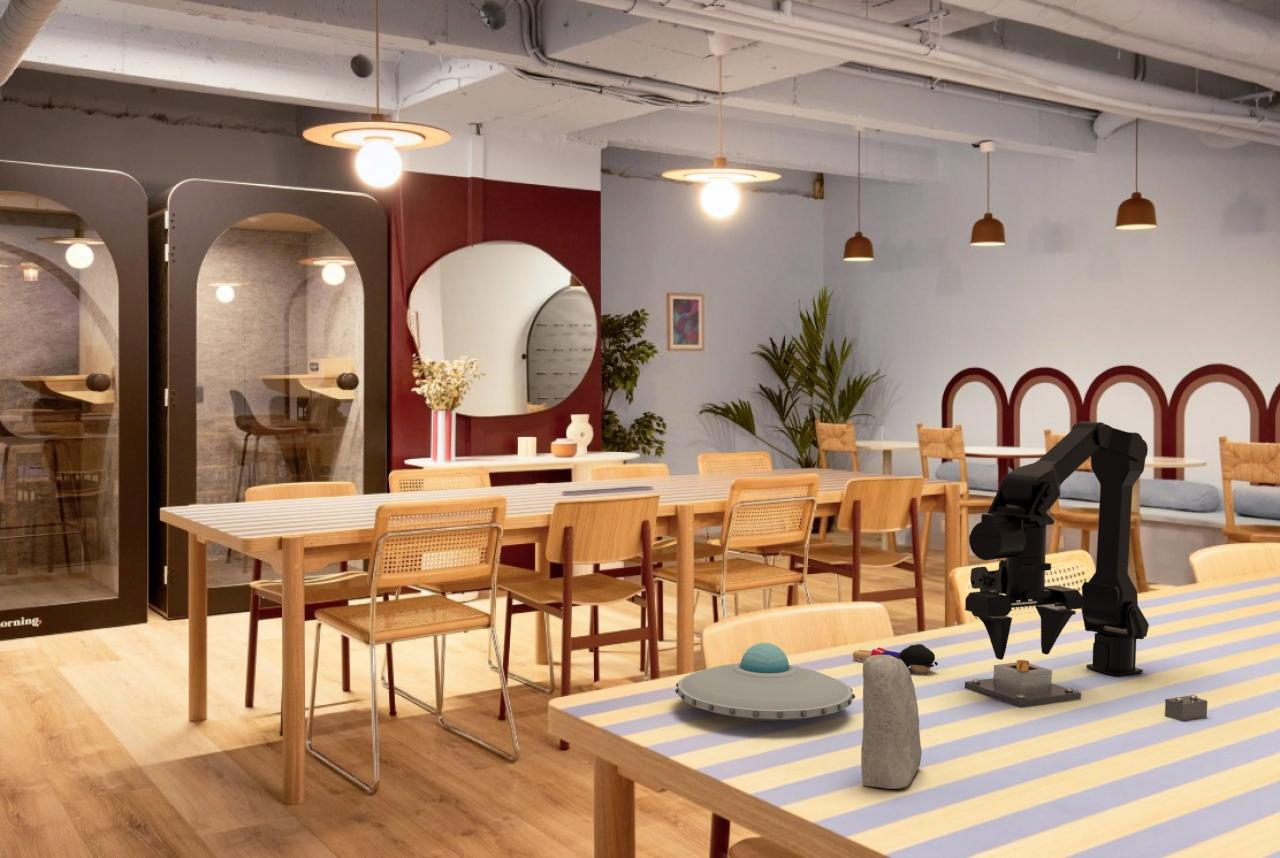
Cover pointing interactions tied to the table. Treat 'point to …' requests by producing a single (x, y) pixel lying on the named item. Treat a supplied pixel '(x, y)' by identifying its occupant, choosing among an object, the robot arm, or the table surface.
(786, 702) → the toy
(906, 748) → the decorative stone
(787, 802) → the table surface
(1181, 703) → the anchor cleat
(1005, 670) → the socket
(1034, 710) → the table surface
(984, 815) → the table surface
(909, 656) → the toy
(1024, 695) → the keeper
